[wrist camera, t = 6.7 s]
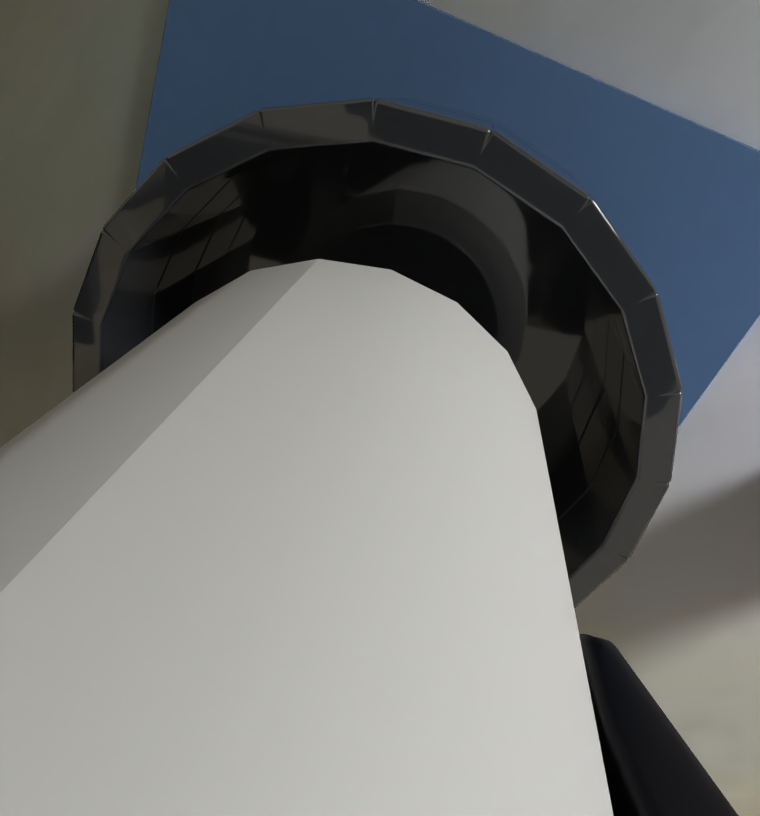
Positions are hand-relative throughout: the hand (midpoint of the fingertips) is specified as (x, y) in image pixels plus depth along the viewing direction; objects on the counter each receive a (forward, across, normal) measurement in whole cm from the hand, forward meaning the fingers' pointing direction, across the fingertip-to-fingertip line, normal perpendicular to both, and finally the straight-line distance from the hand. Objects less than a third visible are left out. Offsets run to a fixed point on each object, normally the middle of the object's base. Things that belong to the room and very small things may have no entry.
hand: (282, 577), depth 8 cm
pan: (+8, 0, 0) cm, 8 cm away
